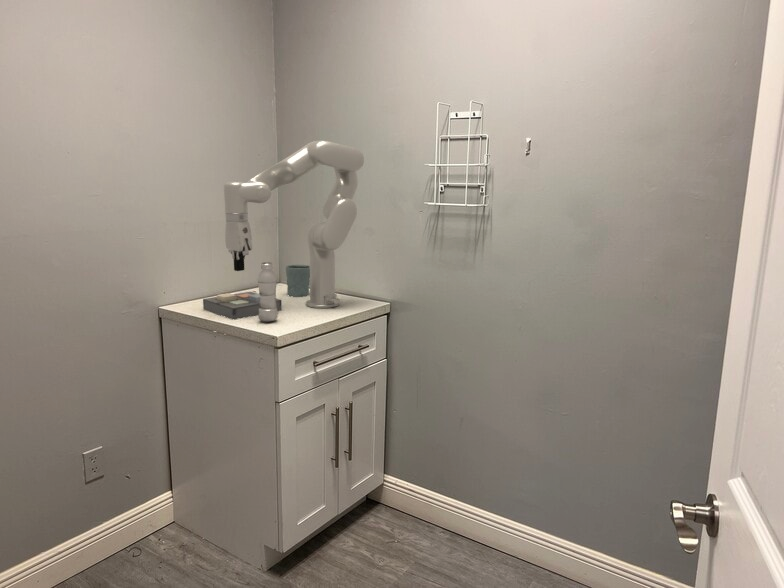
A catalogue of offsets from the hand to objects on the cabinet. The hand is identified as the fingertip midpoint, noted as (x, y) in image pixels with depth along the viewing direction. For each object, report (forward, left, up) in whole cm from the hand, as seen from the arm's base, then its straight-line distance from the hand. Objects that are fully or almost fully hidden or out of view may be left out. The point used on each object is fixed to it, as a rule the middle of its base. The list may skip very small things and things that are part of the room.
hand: (239, 270), depth 205 cm
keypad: (+3, -3, -15) cm, 16 cm away
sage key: (-1, +1, -14) cm, 14 cm away
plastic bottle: (-17, 0, -16) cm, 23 cm away
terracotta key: (+7, -7, -14) cm, 17 cm away
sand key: (+7, +1, -12) cm, 14 cm away
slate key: (-1, -7, -12) cm, 14 cm away
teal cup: (+11, -35, -16) cm, 40 cm away
